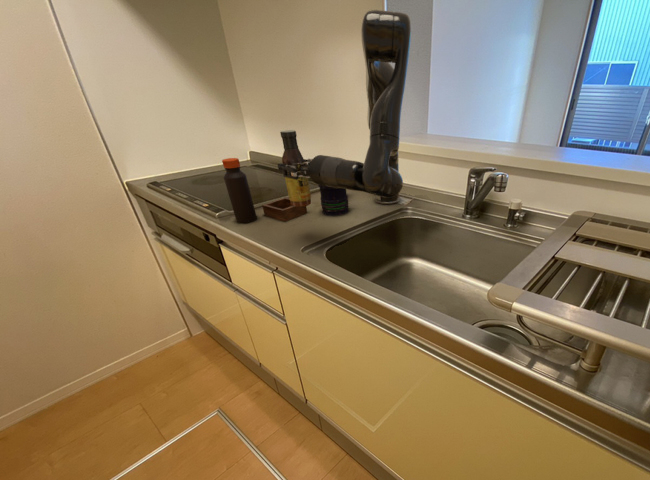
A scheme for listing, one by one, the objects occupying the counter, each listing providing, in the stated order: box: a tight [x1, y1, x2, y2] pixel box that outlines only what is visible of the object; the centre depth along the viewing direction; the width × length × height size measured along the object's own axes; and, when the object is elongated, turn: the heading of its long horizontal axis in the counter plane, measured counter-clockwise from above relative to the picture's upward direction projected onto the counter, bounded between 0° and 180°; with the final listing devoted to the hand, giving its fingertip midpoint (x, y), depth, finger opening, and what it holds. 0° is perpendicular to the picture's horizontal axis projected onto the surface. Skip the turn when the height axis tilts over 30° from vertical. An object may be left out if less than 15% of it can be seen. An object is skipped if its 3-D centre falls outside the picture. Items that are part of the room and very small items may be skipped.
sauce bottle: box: [279, 129, 312, 207], centre depth 96 cm, size 6×6×20 cm
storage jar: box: [318, 185, 350, 217], centre depth 121 cm, size 10×10×15 cm
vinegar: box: [221, 157, 258, 224], centre depth 114 cm, size 7×7×20 cm
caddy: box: [261, 197, 308, 222], centre depth 123 cm, size 10×11×4 cm
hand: (288, 164), depth 96 cm, fingers closed on sauce bottle, 6 cm apart
